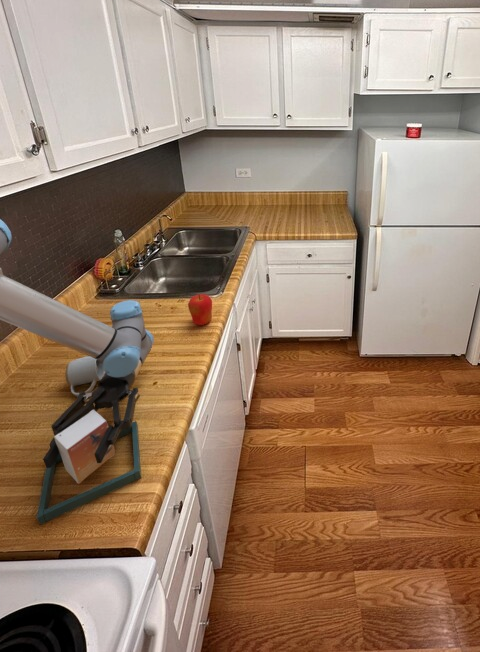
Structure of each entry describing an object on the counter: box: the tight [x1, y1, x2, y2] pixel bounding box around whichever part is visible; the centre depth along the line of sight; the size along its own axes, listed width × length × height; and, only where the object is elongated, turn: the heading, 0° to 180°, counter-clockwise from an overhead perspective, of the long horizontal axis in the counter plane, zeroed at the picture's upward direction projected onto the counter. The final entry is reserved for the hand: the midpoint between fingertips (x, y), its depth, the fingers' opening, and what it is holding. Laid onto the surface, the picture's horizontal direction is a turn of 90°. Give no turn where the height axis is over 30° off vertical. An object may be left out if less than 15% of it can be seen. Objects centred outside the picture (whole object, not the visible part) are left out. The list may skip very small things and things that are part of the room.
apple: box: [187, 293, 213, 326], centre depth 123 cm, size 9×8×12 cm
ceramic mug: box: [64, 355, 105, 397], centre depth 96 cm, size 11×8×8 cm
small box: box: [53, 410, 116, 484], centre depth 72 cm, size 8×6×10 cm
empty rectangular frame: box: [36, 420, 142, 525], centre depth 75 cm, size 18×14×2 cm
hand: (72, 461), depth 67 cm, fingers closed on small box, 9 cm apart
